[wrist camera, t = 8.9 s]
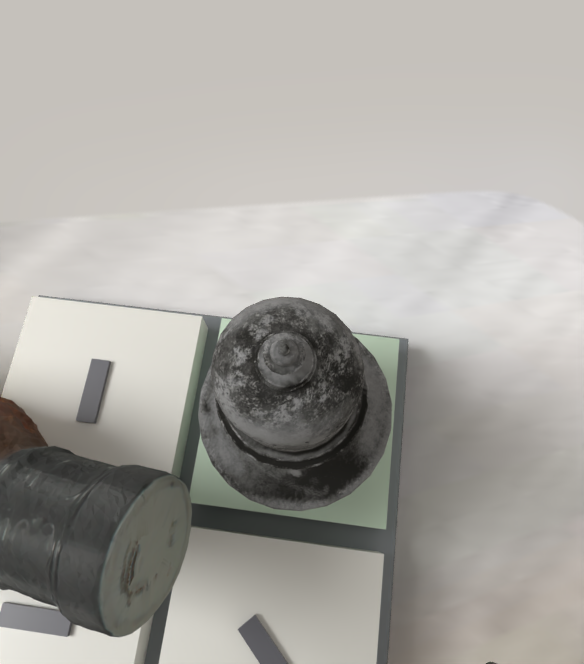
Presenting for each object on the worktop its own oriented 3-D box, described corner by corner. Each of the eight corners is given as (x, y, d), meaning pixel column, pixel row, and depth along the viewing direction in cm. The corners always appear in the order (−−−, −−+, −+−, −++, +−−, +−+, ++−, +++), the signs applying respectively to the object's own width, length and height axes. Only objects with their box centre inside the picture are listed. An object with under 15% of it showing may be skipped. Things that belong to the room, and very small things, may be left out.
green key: (375, 528, 21) (386, 529, 19) (201, 504, 22) (186, 502, 19) (388, 358, 24) (400, 337, 21) (230, 339, 24) (220, 316, 21)
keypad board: (373, 787, 19) (386, 834, 16) (-71, 714, 20) (-131, 746, 17) (403, 347, 24) (416, 325, 21) (50, 305, 25) (19, 279, 22)
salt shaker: (262, 316, 21) (207, 122, 9) (403, 384, 20) (536, 265, 8) (187, 456, 20) (16, 435, 8) (334, 534, 19) (379, 636, 7)
